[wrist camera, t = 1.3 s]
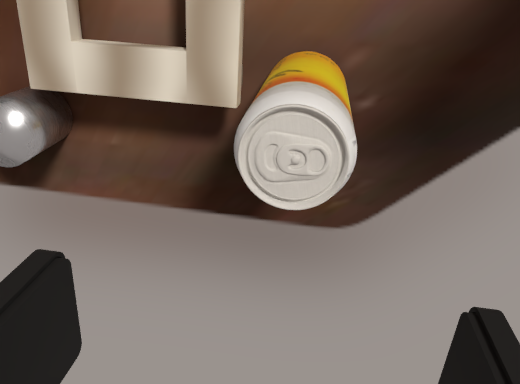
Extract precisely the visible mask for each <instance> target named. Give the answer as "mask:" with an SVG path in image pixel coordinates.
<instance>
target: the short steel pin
mask: <svg viewBox="0 0 520 384" xmlns="http://www.w3.org/2000/svg"><path fill="white" fill-rule="evenodd" d="M72 124H73V117H72V112H71V109H70V107H69V105H68V103H67V101H66V100H65V99H64V98H63V96H62V95H61V94H59V93H58V92H57V91H51V90H40V89H31V87H30V86H29V87H26V88H23V89H20V90H18V91H15V92H12V93H9V94H6V95H4V96H1V97H0V166H2V167H15V166H18V165H20V164H22V163H24V162H25V161H27V160H29V159H30V158H32V157H34V156H35V155H37V154H39V153H40V152H42V151H44V150H45V149H47V148H49V147H50V146H52V145H54V144H55V143H57V142H59V141H60V140H62V139H64V138H65V137H66V136H67V135H68V134H69V132H70V131H71V128H72Z"/></svg>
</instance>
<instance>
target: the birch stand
mask: <svg viewBox="0 0 520 384" xmlns="http://www.w3.org/2000/svg"><path fill="white" fill-rule="evenodd" d="M16 1H17V7H18V13H19V19H20V25H21V31H22V38H23V44H24V50H25V56H26V62H27V69H28V75H29V81H30V87H31V89H40V90H51V91H61V92H72V93H82V94H93V95H103V96H114V97H124V98H135V99H145V100H156V101H167V102H177V103H188V104H198V105H209V106H219V107H230V108H237V107H238V105H239V104H240V100H241V86H242V76H243V65H242V52H243V27H244V3H245V0H186V47H174V46H162V45H150V44H137V43H125V42H113V41H101V40H89V39H82V35H81V26H80V16H79V7H78V0H16Z"/></svg>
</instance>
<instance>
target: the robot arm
mask: <svg viewBox="0 0 520 384" xmlns="http://www.w3.org/2000/svg"><path fill="white" fill-rule="evenodd" d="M81 344H82V342H81V334H80V326H79V319H78V311H77V305H76V297H75V290H74V283H73V275H72V268H71V263H70V261H69V260H68V259H65V256H64V254H63V253H61V252H56V251H49V250H41V249H39V250H36V251H34V252H33V253H32V254H31V255H30V256H29V257H27V259H25V260H24V261H23V262H22V263H21V264H20V265H19V266H18V267H17V268H16V269H14V270H13V271H12V272H11V273H10V274H9V275H8V276H7V277H6V278H5V279H4V280H3V281H1V282H0V384H60V383H61V381H62V380H63V378H64V377H65V375H66V374H67V372H68V371H69V369H70V368H71V366H72V365H73V363H74V361H75V360H76V359H77V357H78V355H79V353H80V350H81ZM438 384H520V344H519V342H518V340H517V338H516V336H515V335H514V333H513V331H512V329H511V327H510V325H509V323H508V322H507V320H506V318H505V316H504V314H503V313H502V312H501V311H499V310H494V309H486V308H479V307H473V308H471V309H470V311H469V313H467V312H463V313H462V314H461V316H460V319H459V322H458V325H457V328H456V331H455V335H454V338H453V340H452V343H451V346H450V349H449V352H448V355H447V358H446V361H445V364H444V368H443V370H442V374H441V377H440V380H439V383H438Z"/></svg>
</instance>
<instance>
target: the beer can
mask: <svg viewBox="0 0 520 384" xmlns="http://www.w3.org/2000/svg"><path fill="white" fill-rule="evenodd" d="M234 157H235V162H236V165H237V168H238V170H239V172H240V175H241V176H242V178H243V180H244V182H245V183H246V185H247V186H248V188H249V189H250V190H251V191H252V192H253V193H254V194H255V195H256V196H257V197H258V198H259V199H261V200H262V201H264V202H266V203H268V204H270V205H272V206H274V207H278V208H281V209H287V210H303V209H308V208H312V207H315V206H318V205H320V204H322V203H324V202H325V201H327V200H328V199H330V198H331V197H332V196H333V195H334V194H336V193H337V192H338V191H339V190H340V189H341V188H342V187H343V186H344V185H345V184H346V182H347V181H348V179H349V178H350V176H351V174H352V172H353V169H354V166H355V163H356V158H357V142H356V136H355V131H354V125H353V120H352V114H351V109H350V103H349V98H348V92H347V87H346V82H345V78H344V76H343V74H342V72H341V70H340V68H339V67H338V66H337V65H336V64H335V63H334V62H333V61H332V60H331V59H330V58H328V57H326V56H325V55H322V54H320V53H316V52H311V51H303V52H297V53H293V54H291V55H289V56H287V57H285V58H283V59H282V60H281V61H280V62H278V63H277V65H276V66H275V67H274V68H273V69H272V71H271V73H270V74H269V76H268V78H267V79H266V81H265V83H264V84H263V86H262V87H261V89H260V91H259V92H258V94H257V96H256V97H255V99H254V100H253V102H252V104H251V105H250V107H249V109H248V110H247V112H246V113H245V115H244V117H243V118H242V120H241V122H240V124H239V126H238V128H237V131H236V135H235V140H234Z"/></svg>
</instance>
